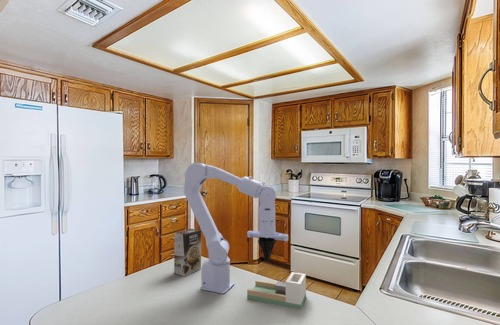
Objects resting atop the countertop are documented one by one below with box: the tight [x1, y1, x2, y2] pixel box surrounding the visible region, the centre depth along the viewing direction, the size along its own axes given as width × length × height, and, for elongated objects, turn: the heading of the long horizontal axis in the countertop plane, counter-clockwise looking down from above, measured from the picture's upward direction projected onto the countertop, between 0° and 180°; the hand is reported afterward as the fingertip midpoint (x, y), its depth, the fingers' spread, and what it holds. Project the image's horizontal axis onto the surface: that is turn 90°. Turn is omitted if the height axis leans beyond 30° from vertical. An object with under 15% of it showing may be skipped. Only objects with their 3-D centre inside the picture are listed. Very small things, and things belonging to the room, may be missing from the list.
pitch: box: [246, 271, 307, 310], centre depth 83 cm, size 17×8×7 cm, turn 67°
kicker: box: [275, 281, 286, 295], centre depth 82 cm, size 4×3×3 cm
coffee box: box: [173, 228, 202, 277], centre depth 106 cm, size 9×6×16 cm
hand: (267, 259), depth 91 cm, fingers closed
